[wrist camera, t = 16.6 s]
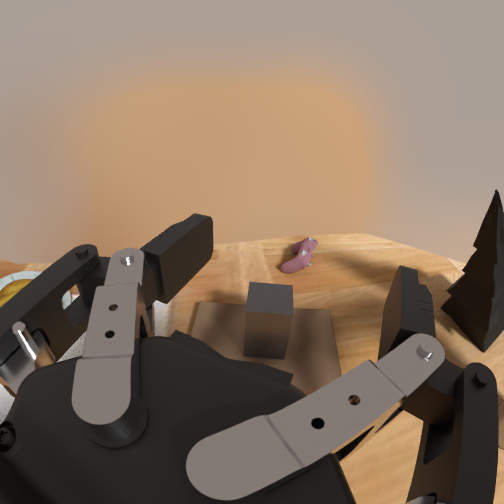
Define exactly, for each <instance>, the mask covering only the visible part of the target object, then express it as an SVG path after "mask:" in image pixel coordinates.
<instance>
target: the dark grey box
mask: <svg viewBox="0 0 504 504" xmlns="http://www.w3.org/2000/svg"><path fill="white" fill-rule="evenodd" d="M292 320H293V288H292V285H281V284H269V283H257V282H250V284H249V291H248V298H247V305H246V314H245V335H244V355H243V356H244V357H255V358H267V359H281V360H284V359H285V355H286V350H287V345H288V340H289V335H290V330H291V325H292Z"/></svg>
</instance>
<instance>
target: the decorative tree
mask: <svg viewBox="0 0 504 504" xmlns="http://www.w3.org/2000/svg"><path fill="white" fill-rule="evenodd" d="M473 246H474V247H475V248H477V250H476V252H475V253H474V254H473V255H472V256H471V258H470V259H469V261H468V263H467V264H466V266H465V267H464V268H463V270H462V271H463V272H464V273H465V274H464V275H463V276H461V277H460V278H459V279H458V280H457V281H456V282H455V283H454V284H453V285H452V286H451V287H450V288H448V289H447V290H446V291H447V292H448V293H449V294H450V295H451V297H450V298H449V299H448V300H447V301H446V302H445V303H444V304H443V306H442V307H441V309H442V310H443V311H445V312H446V313H447V314H448V315H449V316H450V317H451V318H452V319H453V320H454V321H455V323H456V324H457V325H458V326H459V327H460V329H461V330H462V331H463V332H464V333H465V334H466V335H467V336H468V337H469V338H470V339H471V340H472V341H473V342H474V343H475V344H476V345H477V346H478V347H479V348H480V349H481V350H482V351H483V352H485V351H486V350H487V349H488V348H489V347H490V345H491V344H492V343H493V342H494V341H495V340H496V338H497V337H498V336H499V335H500V334H501V332H502V331H503V330H504V212H503V207H502V203H501V199H500V195H499V192H498V191H497V190H495V194H494V196H493V199H492V202H491V204H490V206H489V209H488V211H487V213H486V215H485V218H484V220H483V222H482V225H481V228H480V230H479V233H478V235H477V238H476V240H475V242H474V245H473Z"/></svg>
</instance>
